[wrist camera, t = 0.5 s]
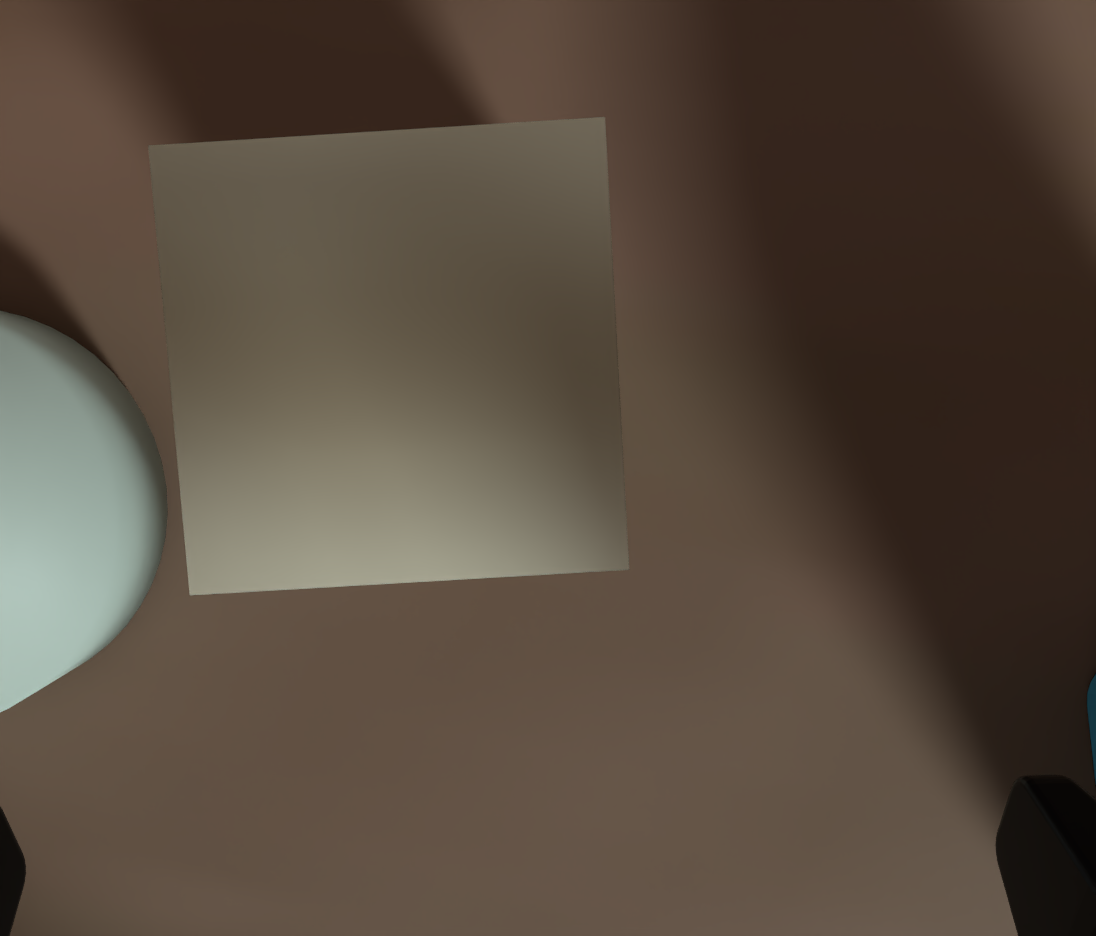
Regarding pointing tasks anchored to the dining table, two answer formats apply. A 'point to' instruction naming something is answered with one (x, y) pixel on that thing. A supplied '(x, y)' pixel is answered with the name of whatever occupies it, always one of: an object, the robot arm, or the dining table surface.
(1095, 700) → the block
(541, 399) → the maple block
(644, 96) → the dining table surface
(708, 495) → the dining table surface
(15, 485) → the plinth
